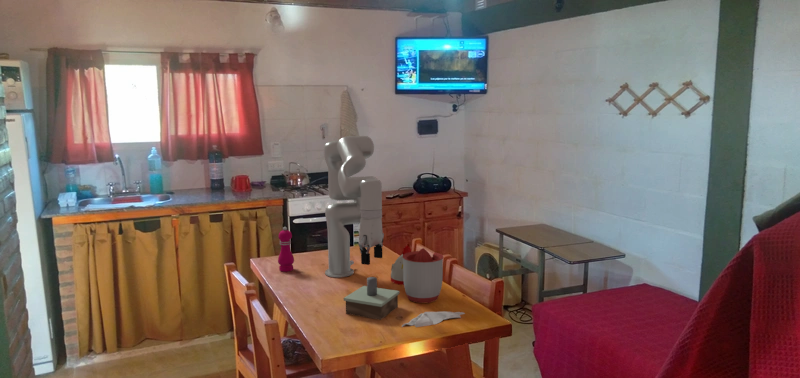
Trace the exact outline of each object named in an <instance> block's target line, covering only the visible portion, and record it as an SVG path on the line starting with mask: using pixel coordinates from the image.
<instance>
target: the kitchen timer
mask: <svg viewBox="0 0 800 378" xmlns="http://www.w3.org/2000/svg"><path fill="white" fill-rule="evenodd" d="M402 250H403V251H401V255H399V256H398V257H397V259H396V260H395V261H394V263H392V264H391V269H390V270H391V272H390V282H392V283H393V284H395V285H399V286H400V285H401V286H404V280H403V255H404V254H406V253H409V252H412V249H411V247H410V246H409V245H405V246H404V247H403V249H402Z"/></svg>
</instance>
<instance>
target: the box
mask: <svg viewBox="0 0 800 378" xmlns="http://www.w3.org/2000/svg"><path fill="white" fill-rule="evenodd" d="M398 298H399V294H398V295H397V296H396V297H394V298H393V299H391V300H390V301H389V302H387V303H386V304H385V305H383V306H382V307H379V306H373V305H367V304H361V303H355V302H349V301H345V315H349V316H350V315H352V316H357V317H361V318H362V317H363V318H367V319H368V318H369V319H373V320H379V321H381V320H383V319H384V318H385V317H387V316H388V315H389V314H390V313H391V312H393V311H394V310H396V309H397V308H398V307H399V305H398V303H399V301H398Z"/></svg>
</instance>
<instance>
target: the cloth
mask: <svg viewBox="0 0 800 378" xmlns="http://www.w3.org/2000/svg"><path fill="white" fill-rule="evenodd" d="M465 314H466V313H465V312H463V311H461V312H460V311H456V312H455V311H454V312H453V311H424V312H423V313H422V312H421V313H420V314H418V315H417V316H416V317H414V318H412V319H410V321H408V322H405V323H403V324H402V325H401V328H403V327H405V326H406V325H408V326H414V327H415V328H420V327H426V326H432V325H437V324H440V323H442V321H443V320H448V319H449V320H452V319H457V318H458V319H459V318H460V319H461V318H462V315H465Z"/></svg>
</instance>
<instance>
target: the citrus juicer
mask: <svg viewBox="0 0 800 378" xmlns="http://www.w3.org/2000/svg"><path fill="white" fill-rule="evenodd" d="M443 262H444V255H443V254H441V253H439V252H434V253H433V254H432V256H431V254H430V253H429V252H428V250H427V249H425V248H424V247H423V248H421V249H420V250H417V251H411V252H409V253H406V254H404V255H403V280H404V285H403V286H404V291H405V294H406V297H407V298H408V300H409V301H411V302H414V303H417V304H418V303H423V304H425V303H426V304H430V303H433V302H436V301H437V300H438V299H439V297H440V294H441V290H442V288H443V287H442V286H443V278H444V277H443V269H444V267H443V266H444V265H443V264H444V263H443Z"/></svg>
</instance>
